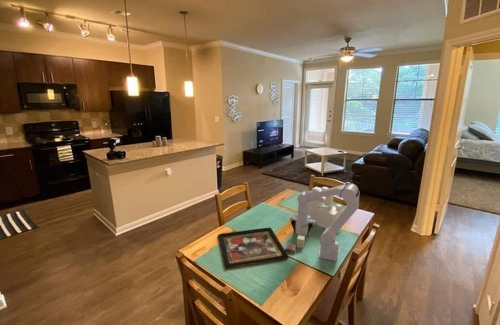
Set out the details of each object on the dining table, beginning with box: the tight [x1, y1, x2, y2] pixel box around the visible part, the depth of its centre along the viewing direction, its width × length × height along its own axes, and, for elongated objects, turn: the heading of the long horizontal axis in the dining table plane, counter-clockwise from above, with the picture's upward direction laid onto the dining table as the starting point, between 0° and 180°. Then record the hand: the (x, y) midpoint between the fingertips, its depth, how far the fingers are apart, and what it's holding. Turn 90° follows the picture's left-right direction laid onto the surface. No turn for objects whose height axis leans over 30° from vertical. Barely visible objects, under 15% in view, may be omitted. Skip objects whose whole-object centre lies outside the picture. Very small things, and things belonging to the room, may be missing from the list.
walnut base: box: [284, 242, 297, 254], centre depth 141 cm, size 6×6×2 cm
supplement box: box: [294, 213, 311, 237], centre depth 157 cm, size 7×7×13 cm
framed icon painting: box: [217, 227, 290, 270], centre depth 144 cm, size 38×35×3 cm
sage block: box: [296, 234, 306, 249], centre depth 145 cm, size 4×4×6 cm
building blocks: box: [308, 186, 343, 229], centre depth 169 cm, size 22×12×25 cm, turn 49°
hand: (301, 233), depth 143 cm, fingers open, 7 cm apart
